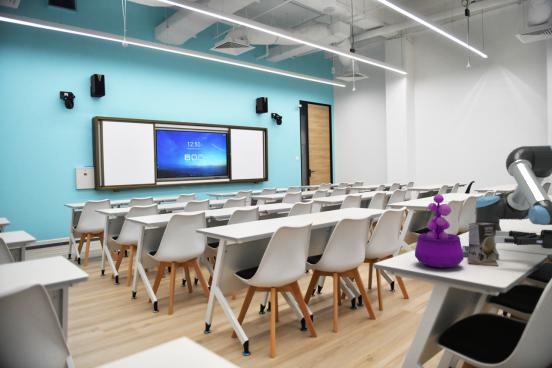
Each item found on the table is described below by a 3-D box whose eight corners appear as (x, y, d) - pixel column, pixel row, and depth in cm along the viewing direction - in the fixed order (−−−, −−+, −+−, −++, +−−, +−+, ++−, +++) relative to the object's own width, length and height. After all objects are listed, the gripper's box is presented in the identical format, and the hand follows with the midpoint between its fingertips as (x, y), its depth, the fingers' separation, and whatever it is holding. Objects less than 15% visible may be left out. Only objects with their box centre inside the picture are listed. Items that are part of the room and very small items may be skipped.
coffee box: (480, 263, 166) (480, 225, 165) (468, 260, 172) (468, 223, 171) (496, 261, 169) (496, 223, 168) (483, 257, 175) (483, 221, 174)
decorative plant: (469, 264, 167) (469, 193, 165) (454, 274, 153) (455, 196, 151) (424, 258, 179) (424, 191, 178) (407, 266, 166) (407, 194, 164)
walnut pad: (467, 258, 178) (467, 256, 178) (495, 260, 173) (495, 258, 173) (468, 264, 168) (468, 262, 168) (498, 266, 163) (498, 264, 163)
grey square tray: (462, 250, 193) (462, 244, 192) (495, 252, 187) (495, 246, 187) (463, 257, 180) (463, 250, 180) (498, 259, 174) (498, 252, 174)
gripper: (561, 255, 148) (496, 251, 157) (546, 242, 171) (490, 239, 180) (561, 235, 148) (496, 232, 156) (546, 225, 171) (490, 223, 179)
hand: (493, 236), depth 168 cm, fingers open, 13 cm apart
